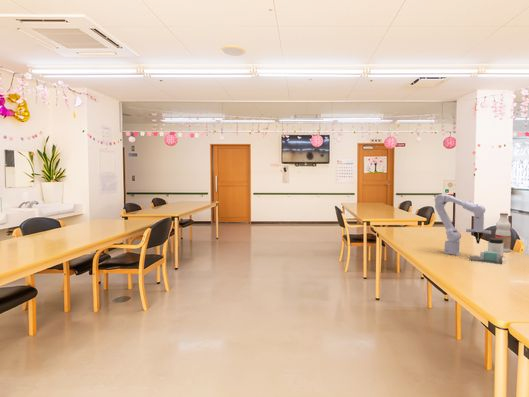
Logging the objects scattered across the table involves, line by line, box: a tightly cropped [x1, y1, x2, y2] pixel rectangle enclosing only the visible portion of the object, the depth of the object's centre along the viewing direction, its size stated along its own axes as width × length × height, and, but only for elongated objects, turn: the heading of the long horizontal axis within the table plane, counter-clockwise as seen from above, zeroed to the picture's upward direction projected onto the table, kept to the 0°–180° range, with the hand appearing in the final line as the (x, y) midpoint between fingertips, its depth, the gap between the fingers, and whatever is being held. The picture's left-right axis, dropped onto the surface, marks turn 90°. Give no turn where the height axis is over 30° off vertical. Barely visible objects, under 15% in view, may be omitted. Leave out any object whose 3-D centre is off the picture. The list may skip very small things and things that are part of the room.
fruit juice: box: [494, 212, 512, 253], centre depth 255 cm, size 9×9×28 cm
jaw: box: [479, 251, 484, 260], centre depth 229 cm, size 2×8×4 cm, turn 145°
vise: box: [469, 254, 503, 265], centre depth 228 cm, size 18×10×4 cm, turn 55°
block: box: [483, 250, 497, 261], centre depth 227 cm, size 7×4×5 cm, turn 55°
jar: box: [487, 237, 504, 258], centre depth 240 cm, size 9×8×12 cm
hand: (477, 243), depth 236 cm, fingers closed
